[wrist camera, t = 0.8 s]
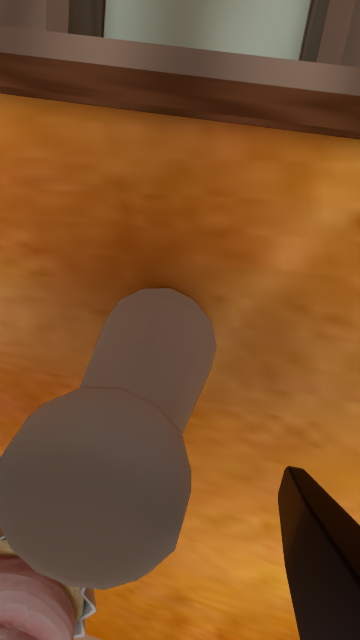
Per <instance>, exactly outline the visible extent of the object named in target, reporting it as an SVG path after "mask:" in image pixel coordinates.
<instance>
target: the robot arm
mask: <svg viewBox="0 0 360 640" xmlns="http://www.w3.org/2000/svg"><path fill="white" fill-rule="evenodd" d="M278 505H279V515H280V524H281V534H282V543H283V553H284V561H285V568H286V573H287V579H288V584H289V588H290V593H291V598H292V603H293V608H294V612H295V617H296V622H297V627H298V632H299V636H300V640H360V525H359V524H358V523H357V522H356V521H355V520H354V519H353V518H352V517H351V516H350V515H349V514H348V513H347V512H346V511H345V510H344V509H343V508H342V507H341V506H340V505H339V504H338V503H337V502H336V501H335V500H334V499H333V498H332V497H331V496H330V495H329V494H328V493H327V492H326V491H325V490H324V489H323V488H322V487H321V486H320V485H319V484H318V483H317V482H316V481H315V480H314V479H313V478H312V477H311V476H310V475H309V474H308V473H307V472H306V471H305V470H304V469H302V468H297V467H292V466H288V467H286V469H285V471H284V474H283V478H282V481H281V485H280V488H279V492H278Z"/></svg>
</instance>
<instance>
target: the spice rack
mask: <svg viewBox="0 0 360 640" xmlns="http://www.w3.org/2000/svg"><path fill="white" fill-rule="evenodd" d="M0 93H3V94H11V95H19V96H27V97H35V98H42V99H50V100H58V101H66V102H74V103H81V104H89V105H97V106H105V107H113V108H120V109H128V110H136V111H144V112H152V113H159V114H167V115H175V116H183V117H191V118H198V119H206V120H214V121H222V122H230V123H237V124H245V125H253V126H261V127H269V128H276V129H284V130H292V131H300V132H308V133H315V134H323V135H331V136H339V137H347V138H354V139H360V0H0Z"/></svg>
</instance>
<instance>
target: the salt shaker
mask: <svg viewBox="0 0 360 640" xmlns="http://www.w3.org/2000/svg"><path fill="white" fill-rule="evenodd" d="M215 350H216V341H215V337H214V332H213V328H212V323H211V320H210V318H209V317H208V316H207V315H206V314H205V312H204V311H203V310H202V309H201V307H200V306H199V305H198V304H197V303H196V301H195V300H194V299H192V298H190V297H188V296H186V295H184V294H182V293H180V292H178V291H175V290H173V289H171V288H151V289H142V290H139V291H137V292H135V293H133V294H131V295H129V296H127V297H124V298H122V299H120V300H119V301H118V303H117V304H116V306H115V307H114V308H113V310H112V311H111V313H110V314H109V316H108V317H107V318H106V320H105V323H104V325H103V328H102V330H101V333H100V336H99V338H98V341H97V344H96V346H95V349H94V351H93V354H92V357H91V359H90V362H89V365H88V367H87V370H86V372H85V375H84V378H83V380H82V383H81V386H80V388H79V389H77V390H74V391H72V392H70V393H67V394H65V395H63V396H60V397H58V398H56V399H53V400H51V401H49V402H46V403H44V404H43V405H42V406H41V407H40V408H38V409H37V410H36V411H35V412H34V413H33V414H31V415H30V416H29V417H28V418H27V420H26V421H25V422H24V424H23V425H22V427H21V428H20V430H19V431H18V432H17V434H16V435H15V437H14V438H13V439H12V441H11V442H10V444H9V445H8V447H7V448H6V450H5V451H4V453H3V455H2V456H1V458H0V528H1V530H2V532H3V534H4V536H5V538H6V540H7V542H8V544H9V546H10V548H11V549H12V550H13V551H14V552H15V553H16V554H17V555H18V556H19V557H20V558H21V559H23V560H24V561H25V562H26V563H27V564H28V565H29V566H30V567H31V568H32V569H33V570H34V571H35V572H37V573H39V574H42V575H44V576H46V577H49V578H51V579H53V580H56V581H58V582H60V583H63V584H65V585H67V586H72V587H82V588H92V589H102V590H105V589H109V588H112V587H115V586H119V585H122V584H126V583H129V582H132V581H136V580H137V579H139V578H141V577H143V576H144V575H146V574H148V573H149V572H151V571H152V570H153V569H154V568H155V567H156V566H157V565H158V564H159V563H161V562H162V561H163V560H164V559H165V558H166V557H167V556H168V555H170V554H171V553H172V552H173V551H174V550H175V547H176V544H177V541H178V537H179V534H180V531H181V527H182V524H183V520H184V516H185V512H186V509H187V505H188V501H189V497H190V493H191V468H190V464H189V460H188V456H187V452H186V448H185V445H184V441H183V437H182V434H183V432H184V429H185V427H186V425H187V422H188V420H189V418H190V415H191V413H192V411H193V408H194V406H195V404H196V401H197V399H198V397H199V395H200V392H201V390H202V388H203V385H204V383H205V381H206V378H207V376H208V374H209V371H210V369H211V365H212V361H213V357H214V353H215Z"/></svg>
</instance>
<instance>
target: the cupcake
mask: <svg viewBox="0 0 360 640" xmlns="http://www.w3.org/2000/svg"><path fill="white" fill-rule="evenodd" d="M95 611H96V603H95V596H94V589H92V588H82V587H72V586H67V585H65V584H63V583H60V582H58V581H56V580H53V579H51V578H49V577H46V576H44V575H42V574H39V573H37V572H35V571H34V570H33V569H32V568H31V567H30V566H29V565H28V564H27V563H26V562H25V561H24V560H23V559H21V558H20V557H19V556H18V555H17V554H16V553H15V552H14V551H13V550H12V549H11V548H10V546H9V544H8V542H7V540H6V538H5V536H4V534H3V532H2V530H1V528H0V640H73V638H80V637H83V636H85V618H87V617H89V616H90V615H92V614H94V612H95Z"/></svg>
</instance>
